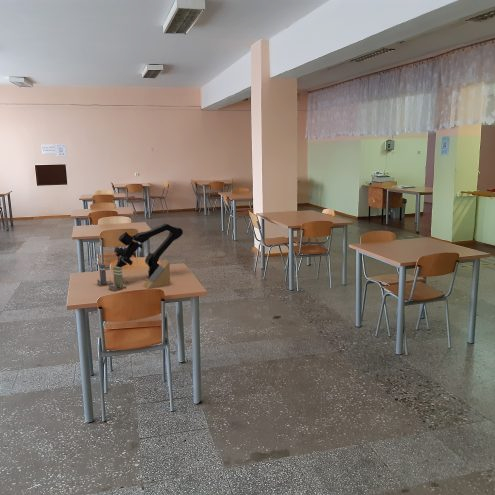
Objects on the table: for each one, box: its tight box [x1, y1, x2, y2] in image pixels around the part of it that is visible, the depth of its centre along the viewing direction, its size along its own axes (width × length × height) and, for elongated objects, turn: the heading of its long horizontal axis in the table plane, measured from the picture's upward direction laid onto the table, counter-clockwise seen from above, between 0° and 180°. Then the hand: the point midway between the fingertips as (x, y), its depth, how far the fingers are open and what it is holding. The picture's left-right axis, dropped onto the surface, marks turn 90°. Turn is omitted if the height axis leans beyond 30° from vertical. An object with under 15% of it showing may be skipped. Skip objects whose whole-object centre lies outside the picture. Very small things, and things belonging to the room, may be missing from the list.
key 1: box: [98, 262, 107, 284], centre depth 294 cm, size 3×5×12 cm, turn 31°
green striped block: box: [112, 266, 124, 288], centre depth 286 cm, size 3×5×12 cm, turn 57°
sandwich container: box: [142, 259, 171, 290], centre depth 291 cm, size 9×15×15 cm, turn 122°
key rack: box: [96, 279, 127, 292], centre depth 291 cm, size 10×22×3 cm, turn 45°
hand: (115, 269), depth 298 cm, fingers closed
